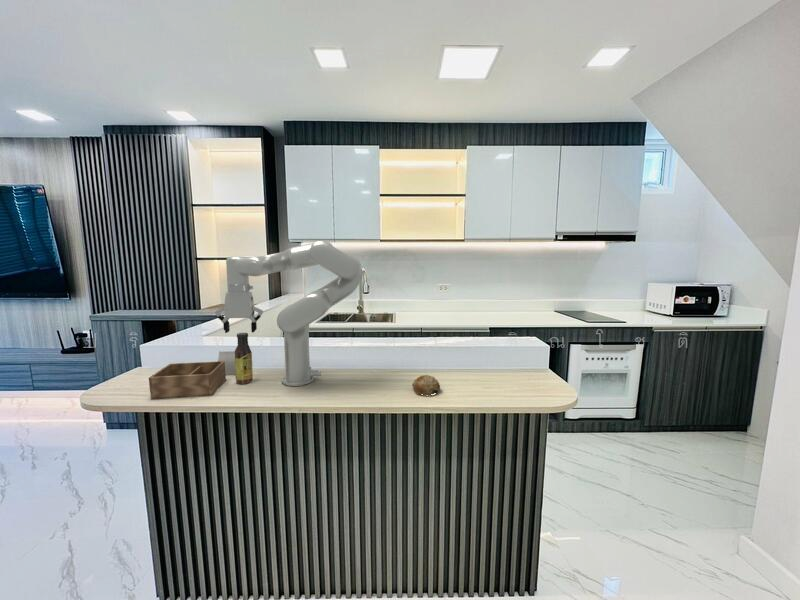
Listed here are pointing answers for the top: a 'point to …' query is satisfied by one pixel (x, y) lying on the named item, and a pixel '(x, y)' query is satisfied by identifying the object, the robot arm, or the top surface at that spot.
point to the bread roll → (426, 385)
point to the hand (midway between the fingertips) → (240, 331)
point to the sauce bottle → (243, 360)
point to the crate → (187, 380)
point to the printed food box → (228, 361)
